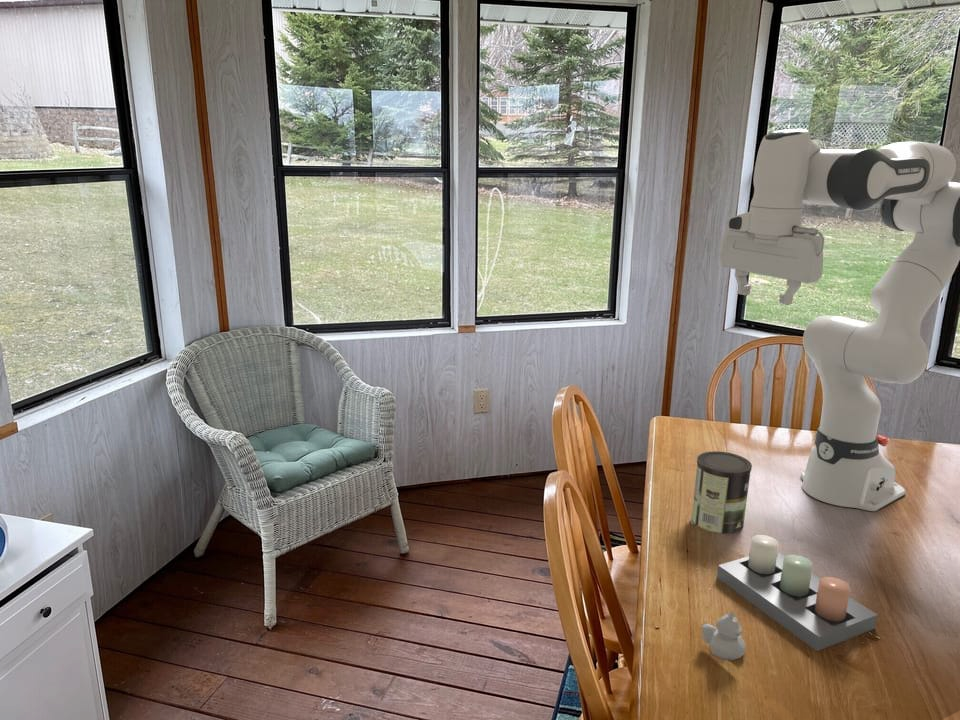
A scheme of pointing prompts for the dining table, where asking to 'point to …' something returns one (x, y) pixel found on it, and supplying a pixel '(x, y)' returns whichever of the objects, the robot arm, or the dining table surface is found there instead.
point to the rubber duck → (725, 637)
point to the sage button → (796, 575)
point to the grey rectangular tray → (795, 605)
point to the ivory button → (763, 554)
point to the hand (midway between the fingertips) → (763, 299)
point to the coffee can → (721, 492)
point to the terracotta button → (832, 598)
